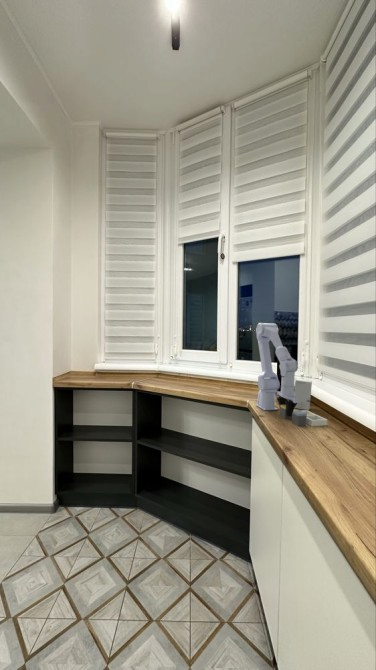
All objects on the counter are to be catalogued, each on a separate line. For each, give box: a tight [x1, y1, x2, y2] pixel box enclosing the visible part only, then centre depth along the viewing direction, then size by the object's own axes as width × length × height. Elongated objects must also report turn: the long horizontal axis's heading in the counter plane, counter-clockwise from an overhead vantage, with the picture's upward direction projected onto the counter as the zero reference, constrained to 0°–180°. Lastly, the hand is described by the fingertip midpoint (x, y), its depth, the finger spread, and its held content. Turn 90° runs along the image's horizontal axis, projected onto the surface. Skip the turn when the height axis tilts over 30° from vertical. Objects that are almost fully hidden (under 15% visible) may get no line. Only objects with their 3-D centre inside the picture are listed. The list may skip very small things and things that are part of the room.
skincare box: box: [294, 378, 313, 411], centre depth 157 cm, size 8×6×15 cm
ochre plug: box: [279, 405, 293, 420], centre depth 140 cm, size 4×4×6 cm
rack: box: [292, 409, 328, 427], centre depth 137 cm, size 14×8×2 cm, turn 15°
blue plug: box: [292, 410, 307, 427], centre depth 131 cm, size 4×4×6 cm
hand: (286, 414), depth 140 cm, fingers open, 4 cm apart
